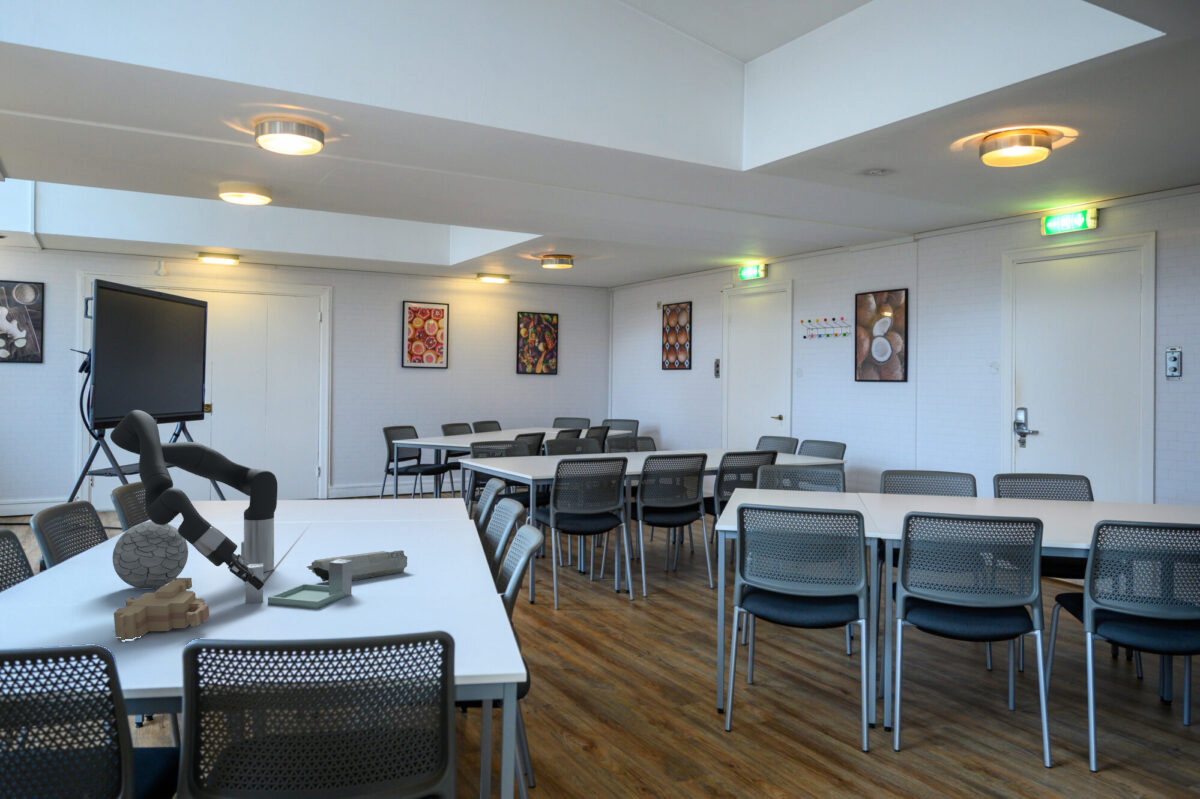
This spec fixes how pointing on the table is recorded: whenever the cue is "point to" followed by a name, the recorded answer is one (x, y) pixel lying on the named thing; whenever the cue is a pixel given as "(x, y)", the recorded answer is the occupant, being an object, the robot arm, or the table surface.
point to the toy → (161, 610)
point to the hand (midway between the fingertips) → (261, 584)
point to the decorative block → (364, 564)
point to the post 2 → (340, 576)
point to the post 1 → (250, 591)
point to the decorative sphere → (150, 555)
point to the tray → (305, 596)
